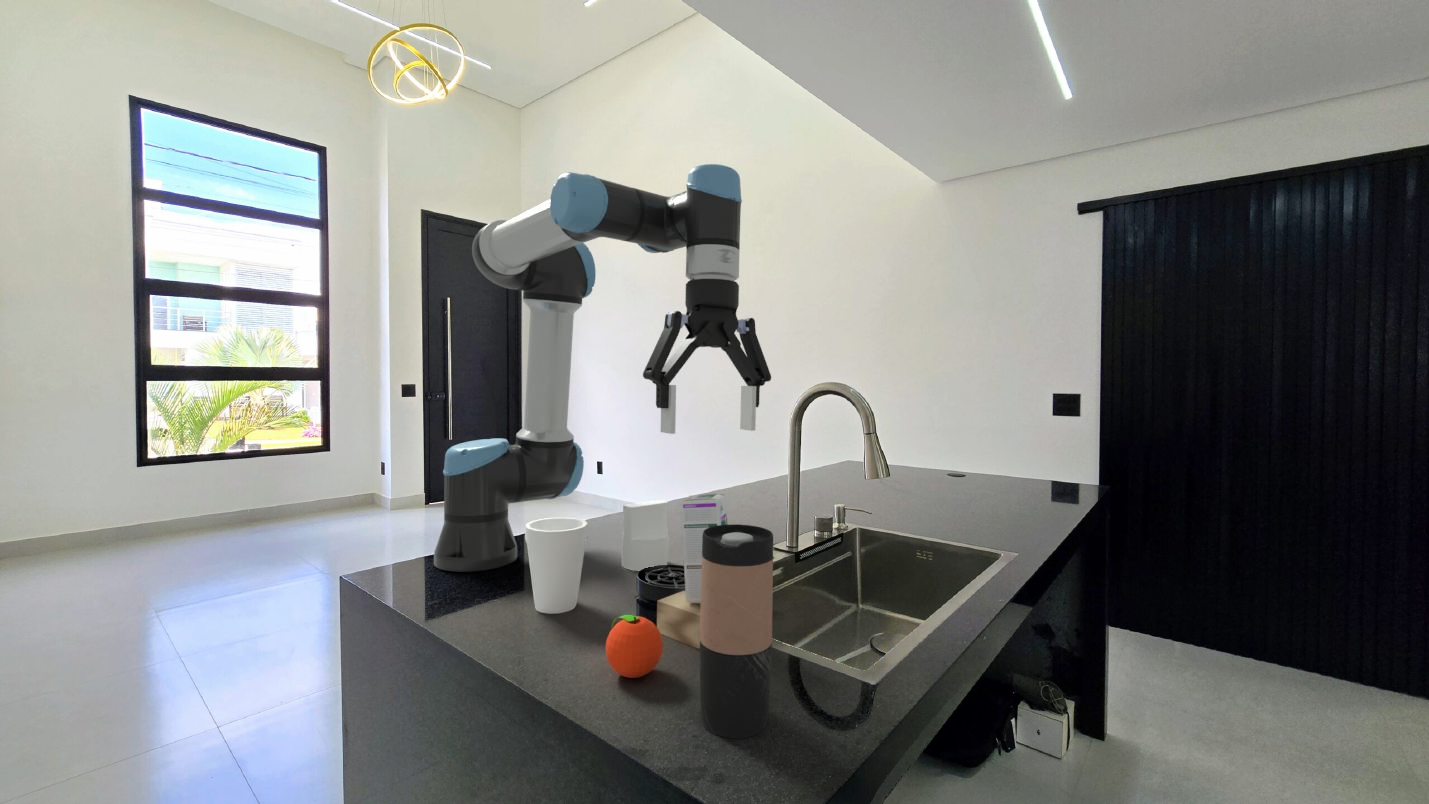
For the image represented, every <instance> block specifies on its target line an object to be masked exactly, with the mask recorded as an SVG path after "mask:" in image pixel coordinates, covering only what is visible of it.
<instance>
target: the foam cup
mask: <svg viewBox="0 0 1429 804" xmlns="http://www.w3.org/2000/svg"><path fill="white" fill-rule="evenodd" d="M588 525H589V523H588V522H587V521H586V520H584V519H581V518H577V517H575V518H574V517H547V518H546V517H545V518H539V519H536V520H535V519H534V520H531V521H529V522H528V523H526V524H525V526H524V527H525V529H524V530H525V531H524V534H525V535H524V539H525V540H524V541H525V542H526V545H527V546H526V547H527V548H526V549H527V554H528V561H529V562H528V563H529V569H530V570H529V571H530V577H531V578H530V579H531V586H532V588H531V589H532V593H533V594H532V595H533V603H534V607H535V610H536V611H537V612H539V613H542V614H549V615H551V614H562V613H566V612H570V611H571V610H573V609H574V610H575V607H577V606H578V605H577V602H578V598H579V597H578V596H579V591H580V584H581V578H582V570H583V563H584V556H585V551H586V550H585V549H586V542H587V539H588V537H589V536H588V531H589V530H588V528H589V527H588Z"/></svg>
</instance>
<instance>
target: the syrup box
mask: <svg viewBox="0 0 1429 804" xmlns="http://www.w3.org/2000/svg"><path fill="white" fill-rule="evenodd" d="M679 503H680V505H679V506H680V520H681V523H680V524H681V537H682V538H681V539H682V555H683V556H682V557H683V568H684V569H683V571H684V574H683V575H684V590H685V593H686V602H689V603H701V572H702V536H703V531H704V530H705V529H707V528H710V527H713V526H718V525H728V514H727V513H728V512H727V497H726V495H725V494H722V493H703V494H694V495H693V494H692V495H689V496H687V497H686V498H685V499H682V500H681V501H679Z"/></svg>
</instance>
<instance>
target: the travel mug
mask: <svg viewBox="0 0 1429 804" xmlns="http://www.w3.org/2000/svg"><path fill="white" fill-rule="evenodd" d="M773 576H774V534H773V532H772V531H771V530H770V529H767V528H764V527H761V526H757V525H749V524H736V523H735V524H734V523H733V524H727V525H718V526H713V527H710V528H707V529H705V530H704V531H703V536H702V572H701V608H700V649H699V680H700V681H699V682H700V683H699V686H700V687H699V690H700V691H699V692H700V694H699V695H700V696H699V697H700V700H699V701H700V720H701V722H702V726H703V727H704V728H705V729H706V730H708V731H709V732H710V733H712V734H714V735H716V736H719V737H723V738H728V739H745V738H750V737H754V736H756V735H758V734H759V733H760V734H761V732H762V731H764V730H765V728H766V727H767V724H768V720H769V719H768V718H769V706H770V705H769V704H770V687H771V686H770V685H771V670H772V669H771V667H772V666H771V665H772V649H773V647H772V645H773V601H774V599H773V597H774V595H773V591H774V588H773V585H774V583H773V582H774V581H773V580H774V579H773V578H774V577H773Z"/></svg>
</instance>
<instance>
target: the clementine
mask: <svg viewBox="0 0 1429 804" xmlns="http://www.w3.org/2000/svg"><path fill="white" fill-rule="evenodd" d="M618 619H622V620H620V621H618V622H617V623H616V624H615V622H616V621H617V620H618ZM614 624H615V625H614ZM610 628H611V630H610V631H609V634H608V636H607V638H606V642H605V654H606V659H607V661H608V663H609V665H610V667H611V668H612V669H613V670H614V672H615V673H617V674H618V675H620V676H623V677H625V678H629V679H637V678H641V677H643V676H645V675H647V674H649V673H651V672H652V671H653V670H654V669H655V668H656V666H657V665H658V664H659V662H660V660H661V657H662V655H663V648H664V645H663V644H664V643H663V637H662V634H660V631H659V629H658V628H657V625H656V624H654V622H653V621H651V620H649V619H647V618H646V617H644V616H639V615H633V614H624V615H621V616H618V617H616V618H614V619H613V621H612V624H611V627H610Z"/></svg>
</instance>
